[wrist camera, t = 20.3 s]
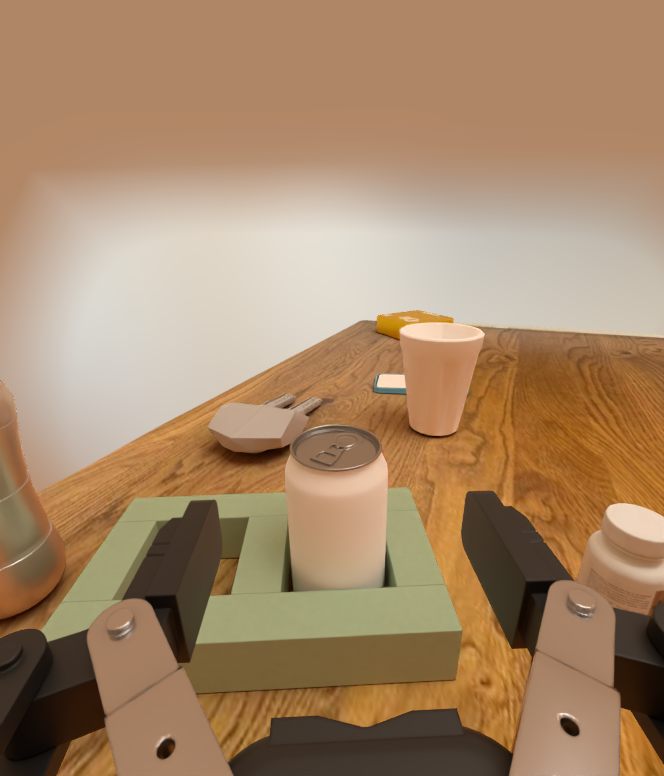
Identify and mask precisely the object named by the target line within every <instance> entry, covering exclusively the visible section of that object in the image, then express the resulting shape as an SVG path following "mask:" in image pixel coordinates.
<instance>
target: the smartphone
mask: <svg viewBox="0 0 664 776" xmlns="http://www.w3.org/2000/svg"><path fill="white" fill-rule="evenodd" d="M374 391H375V392H377V393H399V394H406V384H405V374H385V373H382V374H378V375H377V377H376V381H375V384H374ZM468 394H469V390H468V393H467V395H468Z"/></svg>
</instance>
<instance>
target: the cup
mask: <svg viewBox="0 0 664 776" xmlns="http://www.w3.org/2000/svg"><path fill="white" fill-rule="evenodd" d="M399 331H400V345H401V348H402V354H403V364H404V374H405V384H406V394H407V404H408V414H409V424H410V426H411V427H412V428H413V429H414V430H415V431H418V432H420V433H422V434H427V435H433V436H443V435H450V434H452V433H454V432H456V430H457V428H458V426H459V422H460V419H461V415H462V411H463V408H464V404H465V401H466V397H467V393H468V390H469V386H470V383H471V379H472V376H473V372H474V368H475V365H476V361H477V358H478V354H479V352H480V350H481V348H482V344H483V339H484V335H485V334H484V333H483V332H482V331H481V330H480V329H478V328H475V327H472V326H468V325H462V324H454V323H416V324H411V325H406V326H404V327H402V328H401V329H400V330H399Z"/></svg>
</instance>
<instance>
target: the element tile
mask: <svg viewBox="0 0 664 776" xmlns="http://www.w3.org/2000/svg"><path fill="white" fill-rule="evenodd" d="M416 323H453V318H451V317H446V316H442V315H437V314H433V313H427V312H423V311H418V310H417V311H408V312H401V313H393V314H385V315H378V316H377V332H378V333H381V334H384V335H387V336H390V337H393V338H396V339H399V340H400V331H399V330H400V329H401V328H402V327H404V326H406V325H411V324H416Z"/></svg>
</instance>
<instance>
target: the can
mask: <svg viewBox="0 0 664 776" xmlns="http://www.w3.org/2000/svg"><path fill="white" fill-rule="evenodd" d="M381 450H382V444H381V441H380V440H379V438H378V437H377V436H376V435H375V434H373V433H372V432H370V431H368V430H366V429H363V428H360V427H357V426H352V425H343V424H331V425H322V426H317V427H314V428H310V429H308V430H305V431H303V432H302V433H300V434H298V435H297V436H296V437H295V438H294V439H293V440H292V442H291V444H290V453H291V454H290V456H289V458H288V461H287V463H286V467H285V486H286V501H287V515H288V529H289V543H290V556H291V569H292V581H293V591H294V592H302V591H323V590H345V589H366V588H384V576H385V551H386V523H387V492H388V468H387V463H386V461H385V458H384V456H383V455H382V453H381Z"/></svg>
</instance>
